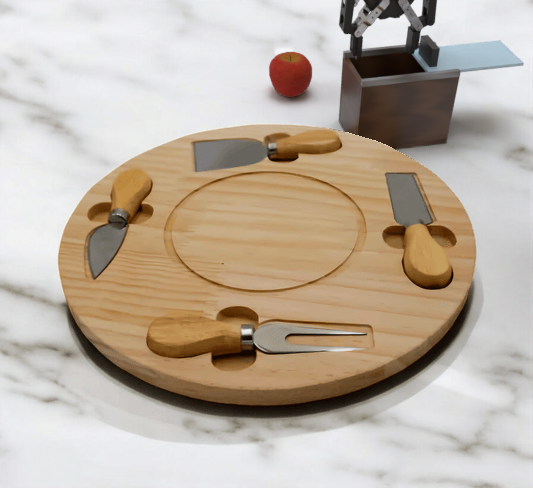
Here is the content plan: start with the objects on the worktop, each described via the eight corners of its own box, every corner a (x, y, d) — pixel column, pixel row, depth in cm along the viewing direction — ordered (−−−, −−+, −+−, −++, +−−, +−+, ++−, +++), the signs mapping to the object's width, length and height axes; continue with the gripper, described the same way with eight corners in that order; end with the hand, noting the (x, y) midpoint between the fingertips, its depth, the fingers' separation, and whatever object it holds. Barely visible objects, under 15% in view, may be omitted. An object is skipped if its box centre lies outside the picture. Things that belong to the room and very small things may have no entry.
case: (423, 110, 116) (434, 41, 107) (446, 143, 108) (460, 70, 99) (338, 120, 114) (343, 50, 105) (355, 154, 106) (362, 81, 97)
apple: (301, 107, 117) (302, 67, 112) (262, 98, 120) (261, 59, 115) (317, 88, 123) (319, 48, 117) (279, 80, 125) (279, 41, 120)
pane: (499, 42, 108) (504, 22, 106) (523, 65, 102) (528, 44, 100) (409, 52, 106) (412, 31, 104) (428, 75, 100) (432, 54, 98)
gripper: (353, -42, 87) (345, 70, 97) (454, -51, 88) (436, 60, 99) (338, -60, 92) (332, 48, 103) (433, -68, 94) (418, 39, 105)
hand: (383, 54), depth 101 cm, fingers open, 8 cm apart
